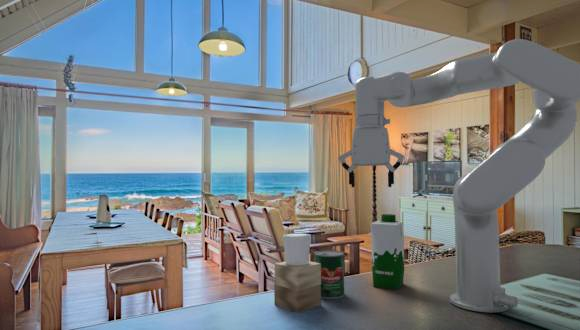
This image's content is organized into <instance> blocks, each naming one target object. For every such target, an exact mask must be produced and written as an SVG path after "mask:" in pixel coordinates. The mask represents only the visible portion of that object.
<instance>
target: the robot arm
mask: <svg viewBox="0 0 580 330" xmlns="http://www.w3.org/2000/svg"><path fill="white" fill-rule="evenodd" d="M519 83H523V84H525V85H527V86H528V87H530V88H532V89H534V90H533V95H532V97H533V101H534V106H535V111H534V116H532V118H531V119H530V120H529V121H528V122H527V123H526V124H524V125H523V126H522V127H521V128H520V129H519V130H518V131H517V132H516V133H515V134H513V135H512V136H511V137H510V138H509V139H507V140H506V141H505V142H503V143H501V144H500V145H498V146H497V147H496V148H495V149H494V150H493V151H492V153H491V154H490V155H489V156H487V157H486V158H485V159H484V160H483V161H481V163H479V165H477V166H476V167H475V168H474V169H473V170H471V171H470V172H469V173H467V174H465V175H462V176H461V177H459V178H458V180H457V181H456V183H455V184H454V186H453V189H452V190H453V191H452V200H453V201H452V202H453V203H452V204H453V215H454V240H455V241H454V245H455V248H454V249H455V275H456V276H455V277H456V278H455V279H456V282H455V283H456V284H455V285H456V292H455V293H452V294H450V296H449V301H450V303H451V304H453V305H454V306H456V307H458V308H460V309H461V308H462V309H464V310H467V311H472V312H478V313H489V314H490V313H491V314H492V313H503V312H505V311H508V310H509V307H510V308H514V309H516V308H517V307H518V304H519V303H518V298H517V296H514V295H509V294H508V295H507V293H506V287H502V286H501V266H500V264H501V263H500V235H499V234H500V232H499V218H498V217H499V216H498V210H499V209H500V208H501V207H502V206H504V205H505V204H506V203H508V202H509V201H510V200H512V199H513V198H514V197H515V196H517V194H519V193H520V192H521V191H522V190H524V189H525V188H526V187H527V186H529V185H530V184H531V183H532V182H533V181H535V180H536V179H537V177H539V175H541V173H542V171H543V169H545V166H546V160H547V158H549V156H551V155H552V154H553V153H554V152H555V151H557V150H558V149H559V148H560V147H561V146H562V145H564V143H565V142H566V141H568V139H569V138H570V137H571V136H572V134H573V132H574V130H575V127H576V125H577V118H578V117H577V116H578V115H577V114H578V113H577V112H578V111H577V110H578V109H577V105H576V104H577V103H579V102H580V63H579V62H576V61H575V60H572V59H570V58H568V57H566V56H564V55H562V54H560V53H558V52H555V51H554V50H552V49H550V48H548V47H545V46H543V45H541V44H538V43H536V42H533V41H532V40H528V39H524V38H523V39H522V38H515V39H511V40H508V41H506V42H505V43H503V44H502V45H501V46H500V47H499V49H498V50H497V51H496V52H491V53H485V54H482V55H475V56H471V57H466V58H461V59H456V60H454V61H451V62H450V63H448V64H447V65H445V66H444V67H442V68H441V69H440V70H438V71H436V72H434V73H432V74H429V75H426V76H423V77H418V78H415V79H414V78H413V79H412V77H411V76H410V75H409V74H408V73H406V72H404V71H394V72H390V73H386V74H383V75H379V76H365V77H361V78H359V79H357V81H356V83H355V128H354V129H353V131H352V139H351V149H350V150H348V151H347V152H345V153H343V154H341V155H339V156H338V158H337V159H338V160H339V163H340V164H341V166H342V168H344V169H345V171H347V172H348V184H349V185H351V188H355V187H356V180H355V178H356V177H355V171H354V170H355V169H356V168H357V167H359V166H360V167H364V166H365V167H366V166H368V167H369V166H373V167H374V166H375V167H376V166H378V167H379V166H385V167H386V169H388V172H387V187H388V188H392V185H394V184H395V171H396V170H398V168H399V167H401V164H402V163H403V161H404V159H405V155H404V154H402V153H400V152H398V151H396V150H395V149H391V146H390V145H391V144H390V136H389V131H388V128H387V127H385V126H387V125H388V124H389V125H390V124H391V119H390V118H386V117H385V101H388V102H389V103H390V105H391V106H393V107H395V108H409V107H414V106H420V105H425V104H426V105H427V104H430V103H434V102H437V101H441V100H445V99H449V98H453V97H456V96H458V95H460V96H461V95H464V94H468V93H469V94H470V93H475V92H481V91H487V90H493V89H498V88H505V87H510V86H513V85H516V84H519ZM391 156H393V157H394V158H397V160H396V162H395V164H393V165H392V164H391V163H390V161H391ZM349 157H351V162H352V163H351V165H350V166H349V164H347V163H346V159H348V158H349Z"/></svg>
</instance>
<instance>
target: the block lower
mask: <svg viewBox="0 0 580 330" xmlns="http://www.w3.org/2000/svg"><path fill="white" fill-rule="evenodd" d="M273 289H274V296H273V297H274V306H277V307H280V308H283V309H285V310H288V311H292V312H294V313H297V314H299V313H301V312H304V311H307V310H310V309H313V308H315V307H319V306H321V305H322V298H321V284H320V285H317V286H313V287H310V288H306V289H303V290H299V291H296V290H293V289H289V288H286V287H282V286H279V285H276V284H275V283H274V288H273Z"/></svg>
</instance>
